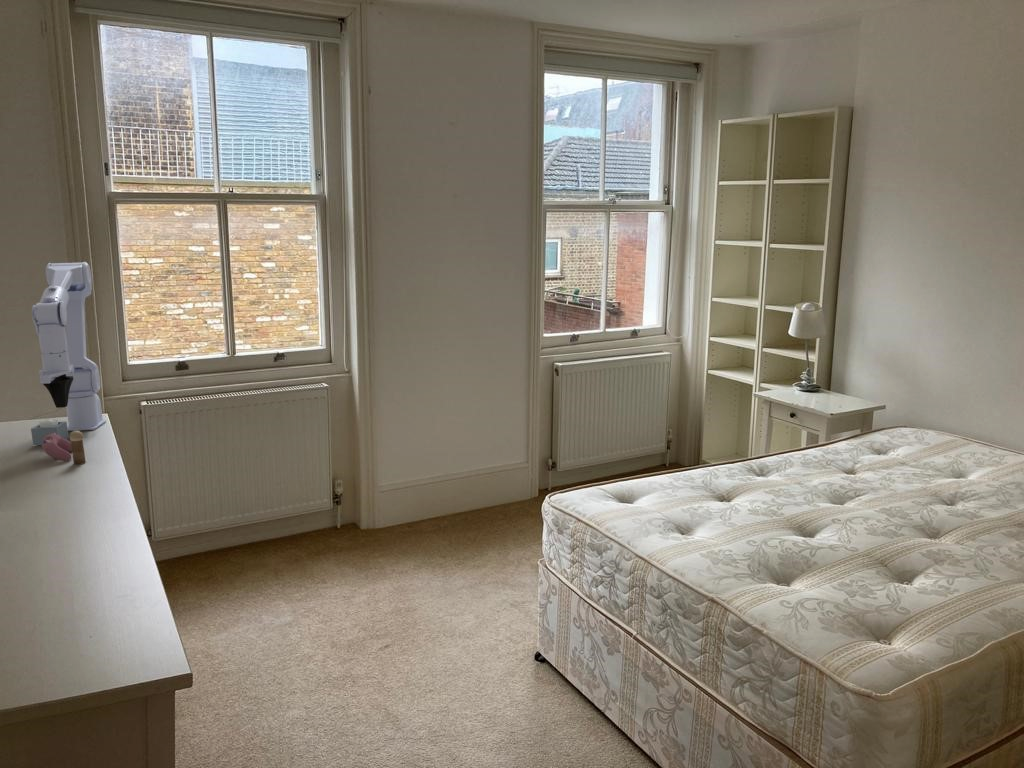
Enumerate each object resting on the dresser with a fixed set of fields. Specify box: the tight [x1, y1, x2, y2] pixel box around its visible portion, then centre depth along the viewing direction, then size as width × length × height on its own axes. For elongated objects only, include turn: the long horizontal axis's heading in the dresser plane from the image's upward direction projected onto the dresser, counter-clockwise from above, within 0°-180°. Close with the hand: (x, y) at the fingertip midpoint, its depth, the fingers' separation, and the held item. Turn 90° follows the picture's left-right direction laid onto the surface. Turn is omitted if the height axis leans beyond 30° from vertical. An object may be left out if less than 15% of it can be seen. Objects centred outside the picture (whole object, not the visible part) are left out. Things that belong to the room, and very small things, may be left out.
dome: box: [38, 418, 59, 427], centre depth 207 cm, size 4×4×4 cm
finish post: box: [68, 430, 87, 465], centre depth 188 cm, size 3×3×8 cm
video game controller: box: [41, 433, 72, 462], centre depth 193 cm, size 10×5×7 cm, turn 21°
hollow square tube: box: [30, 421, 70, 446], centre depth 207 cm, size 6×6×4 cm
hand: (61, 407), depth 202 cm, fingers closed
